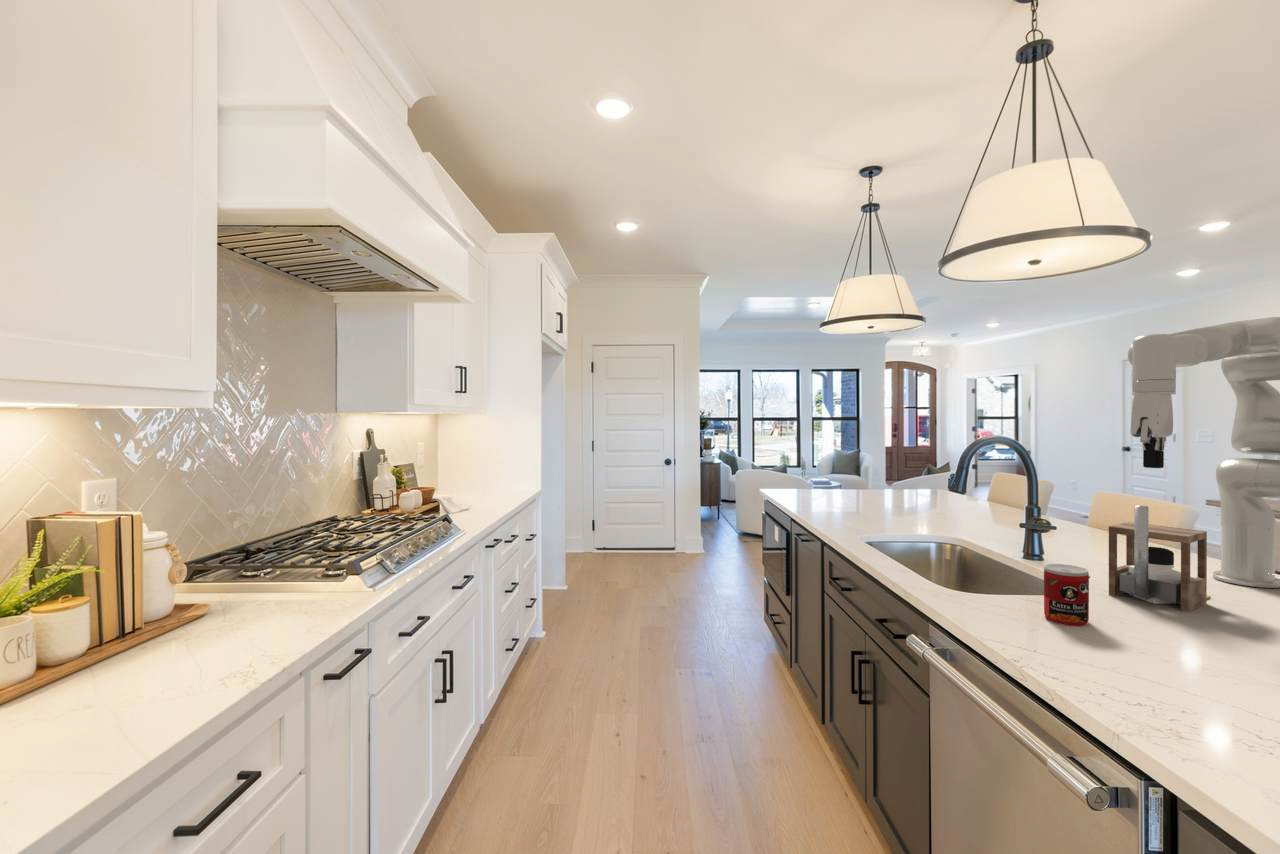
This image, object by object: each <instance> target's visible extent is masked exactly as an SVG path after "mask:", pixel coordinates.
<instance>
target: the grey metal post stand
mask: <svg viewBox="0 0 1280 854" xmlns="http://www.w3.org/2000/svg"><path fill="white" fill-rule="evenodd" d="M1133 512H1134V517H1133V519H1134V522H1133V523H1134V576H1132V575H1131V573H1130V572H1129V571H1128V572H1124V573H1121V574H1120V591H1123V592H1125V593H1128V594H1129V593H1133V594H1134V595H1135V597H1134V598H1136V599H1139V598H1140V600H1142V599H1145V600H1147V599H1150V598H1157V599H1162V600H1167V601H1171V602H1178V601H1181V580H1180V581H1177V582H1174V583H1170V582H1164V581H1159V580H1152V579H1148V547H1149V538H1148V524H1149V506H1147V505H1138V504H1137V505H1134V511H1133ZM1194 578H1195V577H1191V576H1190V580H1191V579H1194ZM1145 600H1144V601H1145Z"/></svg>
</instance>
